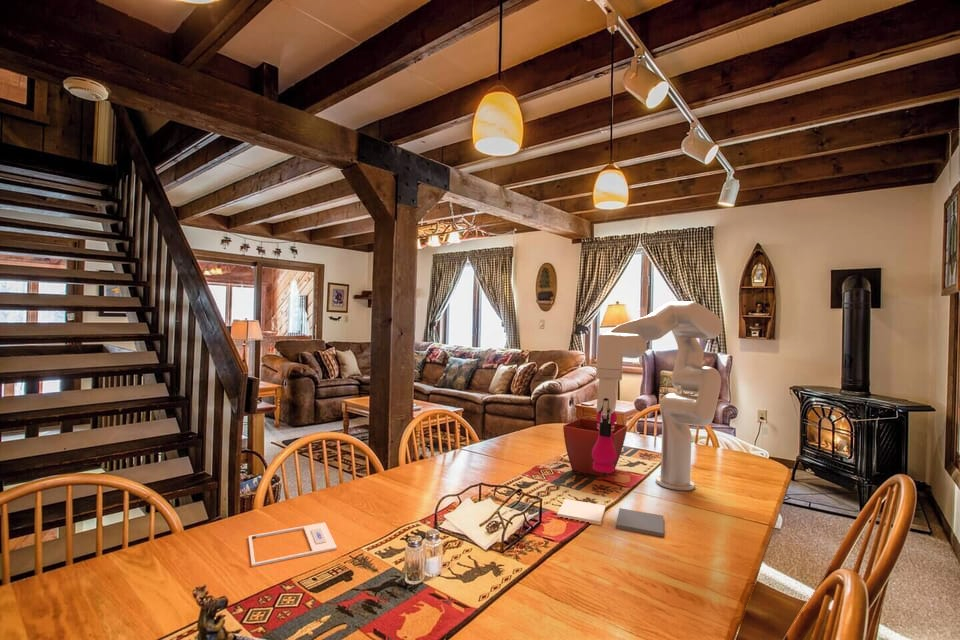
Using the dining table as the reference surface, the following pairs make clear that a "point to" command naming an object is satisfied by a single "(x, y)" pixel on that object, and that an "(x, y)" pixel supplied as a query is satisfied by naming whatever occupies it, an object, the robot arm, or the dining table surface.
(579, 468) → the plant pot
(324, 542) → the photo frame
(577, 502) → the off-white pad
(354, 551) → the dining table surface
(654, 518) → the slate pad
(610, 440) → the pepper mill
